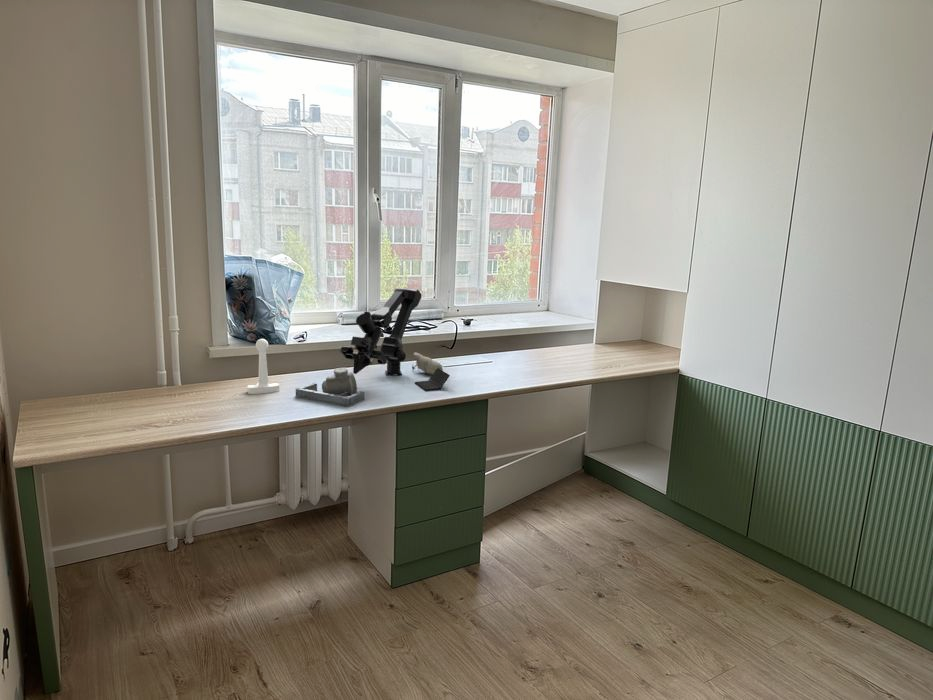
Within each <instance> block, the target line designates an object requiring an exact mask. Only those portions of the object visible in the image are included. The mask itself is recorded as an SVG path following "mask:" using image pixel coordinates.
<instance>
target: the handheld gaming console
mask: <svg viewBox="0 0 933 700" xmlns="http://www.w3.org/2000/svg"><path fill="white" fill-rule="evenodd" d="M449 378H450V374H448V373H447V372H445V371H442V370H440V369H439V368H437V369H436V371H435V372H434V374H431V376H430V378H429V379H428V380H420V381H414V384H415V385H416V386H417V387H419V388H420V389H422V390H423V391H424V392H432V391H433V392H434V391H441V390H442V388H443V386H444V384H445V383H446V382H447V381H448V379H449Z"/></svg>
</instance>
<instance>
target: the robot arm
mask: <svg viewBox="0 0 933 700" xmlns="http://www.w3.org/2000/svg"><path fill="white" fill-rule="evenodd" d="M422 296H423V295H422V293H421V292H420V290H419V289H414V288H413V289H412V288H411V289H410V288H405V287H404V288H402V287H397V288H395V289H394V291H393V294H392V295H391V296H390V297H389V298H388V300H387V301H386V302H385V303H384V305H383V306H382V307H381V308H378V309H377V310H376V309H375V311H374V312H373V313H372V314H371V312H370V311H366V310H365V311H364V312H363V313H361V314H359V315H358V316H357V317H356V318H355V322H356V324H357V326H358V327H359V329H360V330H361V331H362V332H363V333H364V334H365V335H364V336H363V337H362V336H361V337H360V336H352V338H351V341H350V345H351V346H354V348H355V349H354V348H353V347H351V346H348V345H347V346H346V345H342V346H341V348H340V350H339V352H340V353H341V354H342V356H343V357H344V358H345V359H347V360H351V361H352V360H353V371H352V373H353V375H357V374H358V373H360V372H361V371H362V370H363V369H364V368H366V367H368V366H369V365H372V364H373V360H377V363H378V364H379V365H383V366H384V365H386V370H385V374H386V376H402V375H403V373H402V371H401V362H404V361H405V360H406V353H405V352H404V350H403V348H404V347H403V346H404V345H403V336H404V335H405V331H406V328H407V325H408V323H409V320H410V318H411V314H412V311H413V310H414V309H416V308H417V307H418V306H419V303H420V302H421V300H422ZM399 307H400V308H399ZM398 308H399V312H398V315H397V317H396V319H395V322H394V324H393V328H392V331H391V333H390V334H389V336H384V332H383V331H384V330H382V329H387V328H389V327H390V325H391V323H392V322H393V314H394V313H395V312H396V310H398ZM380 338H383V341H382V343H381V345H380V350H377V349H378V346H377V344H378V343H379V340H380Z"/></svg>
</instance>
